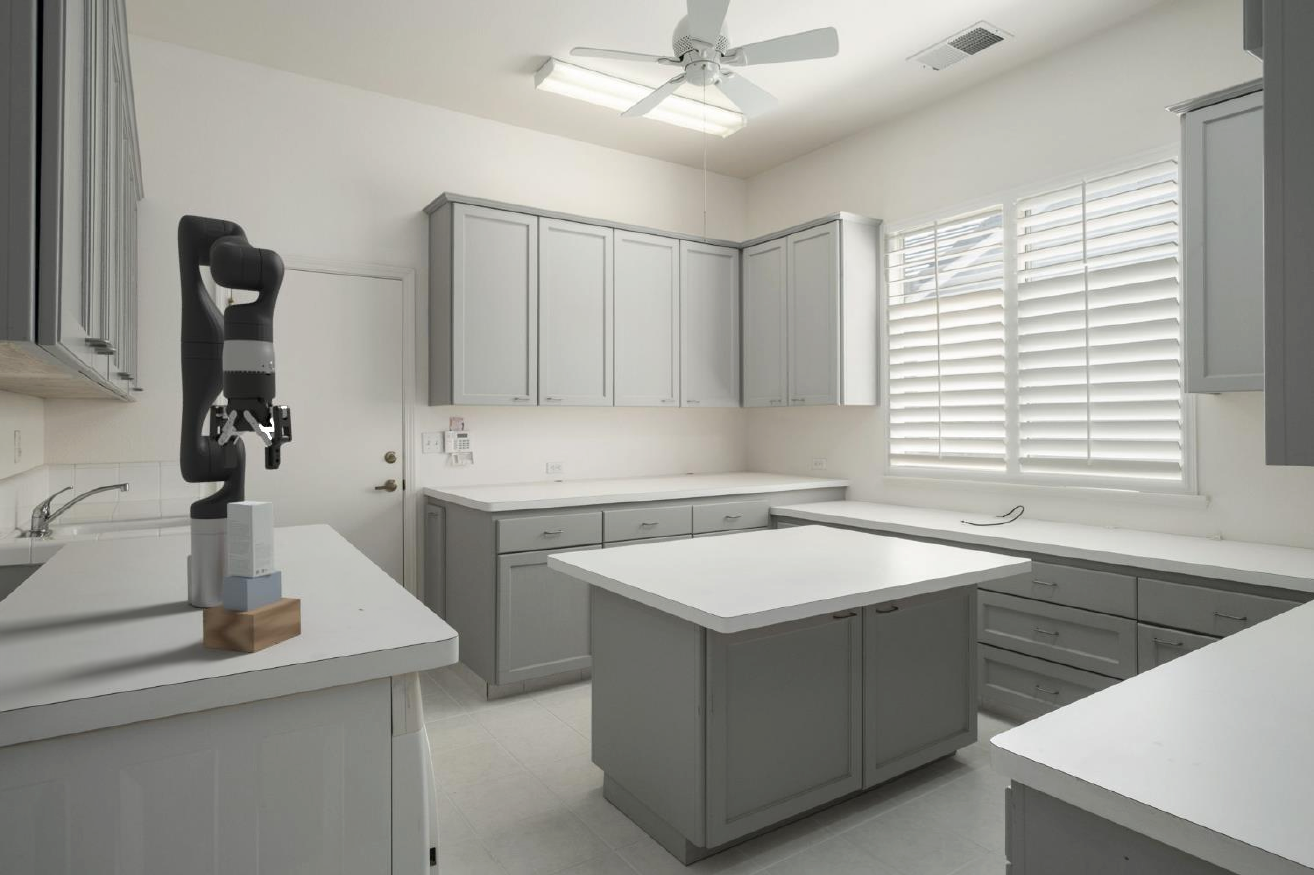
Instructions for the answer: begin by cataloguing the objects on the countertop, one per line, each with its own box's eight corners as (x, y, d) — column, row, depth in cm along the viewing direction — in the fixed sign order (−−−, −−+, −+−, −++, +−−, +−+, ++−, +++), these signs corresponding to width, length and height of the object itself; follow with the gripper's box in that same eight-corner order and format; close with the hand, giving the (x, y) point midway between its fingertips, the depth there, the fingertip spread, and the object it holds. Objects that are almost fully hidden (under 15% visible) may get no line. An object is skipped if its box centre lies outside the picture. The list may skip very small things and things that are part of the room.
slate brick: (223, 608, 117) (222, 578, 117) (258, 598, 124) (257, 569, 124) (247, 611, 116) (247, 580, 116) (281, 600, 123) (281, 571, 123)
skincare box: (275, 573, 121) (274, 502, 120) (252, 578, 117) (251, 504, 116) (250, 570, 123) (249, 500, 123) (226, 575, 119) (225, 503, 119)
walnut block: (203, 647, 117) (202, 610, 117) (253, 629, 126) (252, 595, 126) (254, 652, 114) (253, 614, 114) (300, 633, 124) (300, 599, 124)
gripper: (194, 369, 117) (196, 469, 118) (267, 368, 113) (268, 471, 114) (233, 371, 124) (234, 465, 125) (302, 370, 120) (303, 468, 121)
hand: (250, 468), depth 119 cm, fingers open, 8 cm apart
